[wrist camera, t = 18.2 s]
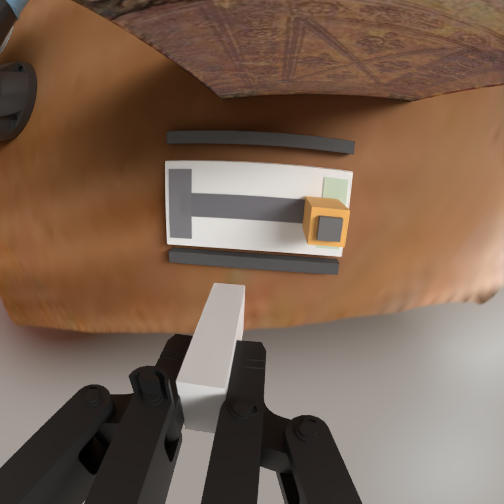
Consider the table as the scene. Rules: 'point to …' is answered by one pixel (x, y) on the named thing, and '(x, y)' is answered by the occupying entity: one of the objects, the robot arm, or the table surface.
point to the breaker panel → (247, 204)
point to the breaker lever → (325, 221)
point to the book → (323, 44)
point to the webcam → (6, 40)
